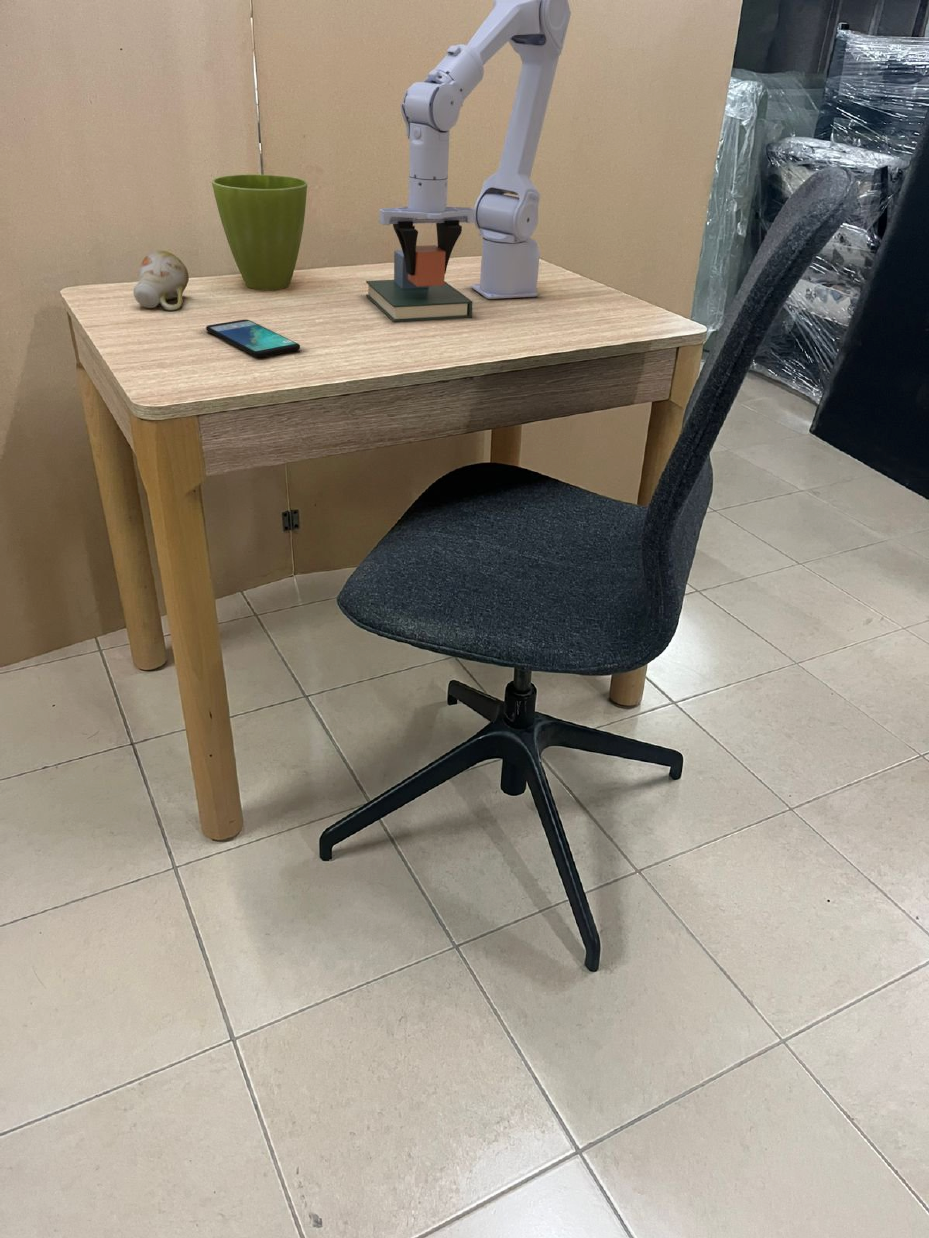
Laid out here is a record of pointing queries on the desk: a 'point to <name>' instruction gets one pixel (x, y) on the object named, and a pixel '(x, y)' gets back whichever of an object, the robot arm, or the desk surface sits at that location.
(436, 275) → the terracotta block
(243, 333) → the smartphone
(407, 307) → the book
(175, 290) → the mug
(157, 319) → the desk surface
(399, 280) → the slate block
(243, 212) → the flower pot
